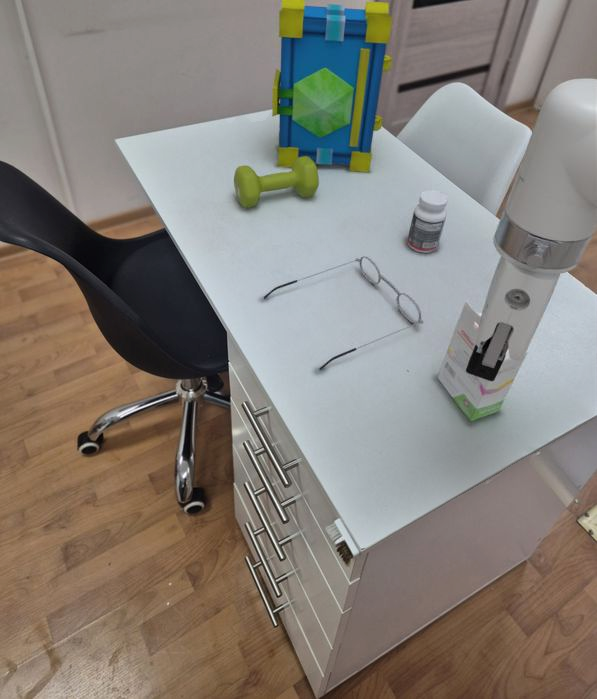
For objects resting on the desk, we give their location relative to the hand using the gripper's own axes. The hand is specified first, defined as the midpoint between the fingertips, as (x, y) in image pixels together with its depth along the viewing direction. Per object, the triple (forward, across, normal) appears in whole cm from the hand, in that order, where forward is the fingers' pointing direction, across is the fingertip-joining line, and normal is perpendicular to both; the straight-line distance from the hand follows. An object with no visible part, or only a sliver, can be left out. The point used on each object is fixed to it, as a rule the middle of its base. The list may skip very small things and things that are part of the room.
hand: (480, 372), depth 61 cm
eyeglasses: (+14, +16, +22) cm, 30 cm away
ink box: (+14, +9, 0) cm, 16 cm away
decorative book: (+14, +62, +45) cm, 78 cm away
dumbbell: (+14, +42, +47) cm, 64 cm away
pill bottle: (+14, +41, +16) cm, 46 cm away
